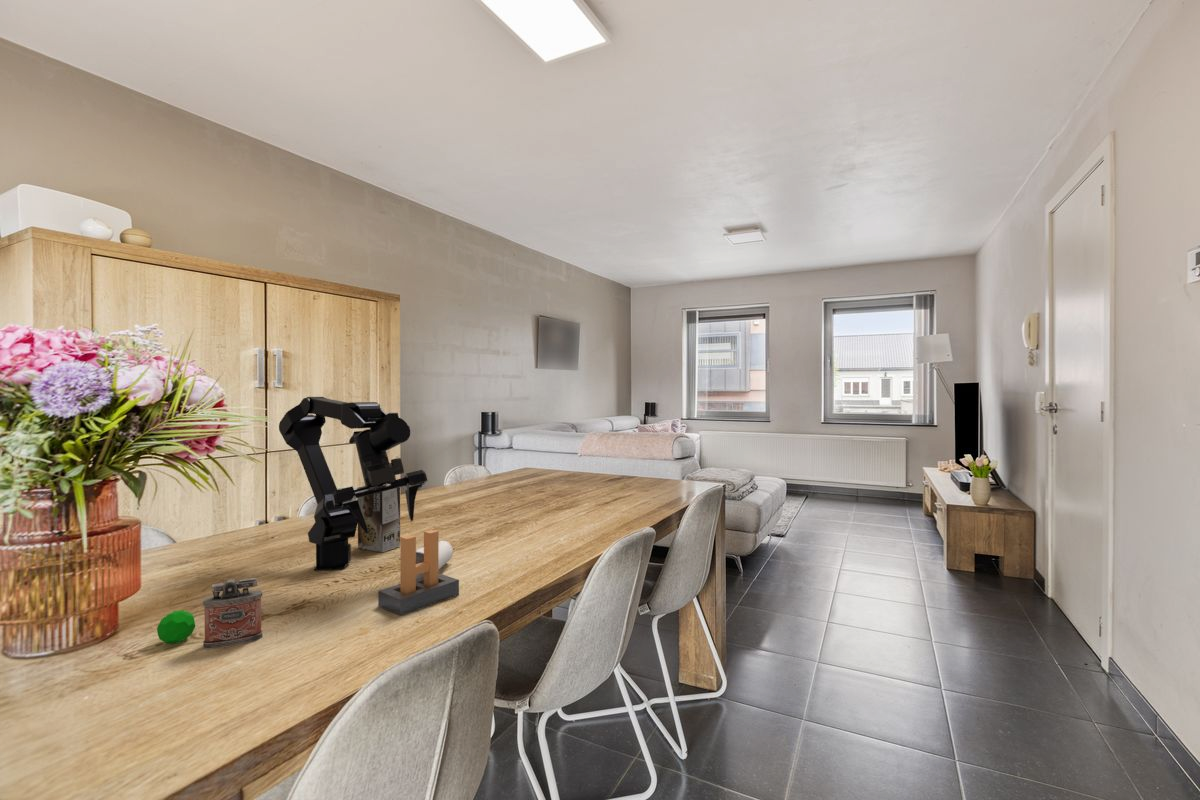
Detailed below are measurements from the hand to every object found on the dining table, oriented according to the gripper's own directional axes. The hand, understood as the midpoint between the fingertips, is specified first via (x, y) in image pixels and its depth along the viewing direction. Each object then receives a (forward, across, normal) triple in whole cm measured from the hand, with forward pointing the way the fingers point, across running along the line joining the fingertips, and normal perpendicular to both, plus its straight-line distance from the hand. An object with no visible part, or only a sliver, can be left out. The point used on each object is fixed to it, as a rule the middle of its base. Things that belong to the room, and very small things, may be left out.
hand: (389, 527), depth 117 cm
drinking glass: (+8, +12, +12) cm, 19 cm away
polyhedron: (+9, -36, -9) cm, 39 cm away
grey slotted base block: (+16, +1, -8) cm, 18 cm away
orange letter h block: (+16, +1, -8) cm, 18 cm away
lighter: (+12, -29, -13) cm, 34 cm away
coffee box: (+2, 0, +32) cm, 32 cm away
